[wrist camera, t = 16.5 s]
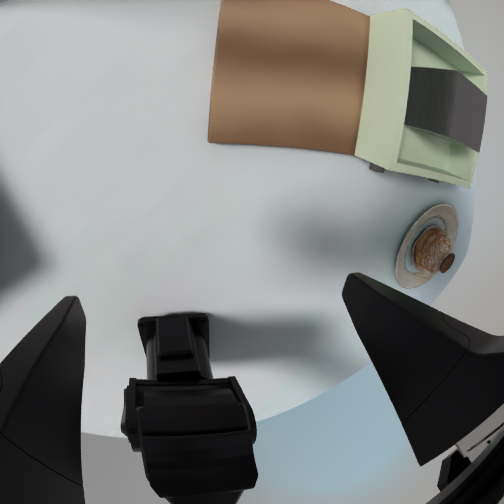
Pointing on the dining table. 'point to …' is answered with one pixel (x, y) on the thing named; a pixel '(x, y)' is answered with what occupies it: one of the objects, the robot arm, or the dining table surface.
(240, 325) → the dining table surface
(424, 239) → the pastry
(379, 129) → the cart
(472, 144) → the block
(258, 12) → the track
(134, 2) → the dining table surface
